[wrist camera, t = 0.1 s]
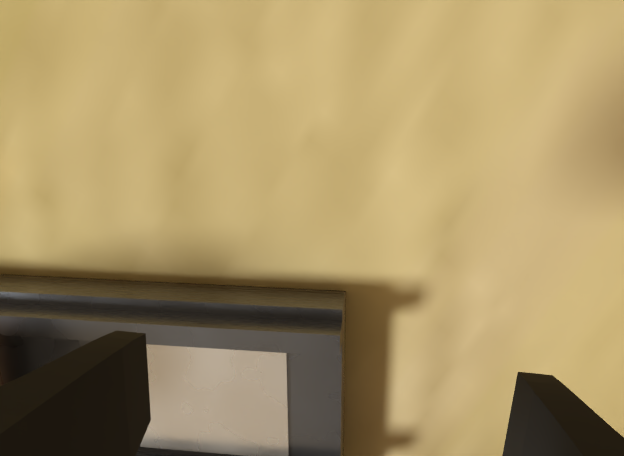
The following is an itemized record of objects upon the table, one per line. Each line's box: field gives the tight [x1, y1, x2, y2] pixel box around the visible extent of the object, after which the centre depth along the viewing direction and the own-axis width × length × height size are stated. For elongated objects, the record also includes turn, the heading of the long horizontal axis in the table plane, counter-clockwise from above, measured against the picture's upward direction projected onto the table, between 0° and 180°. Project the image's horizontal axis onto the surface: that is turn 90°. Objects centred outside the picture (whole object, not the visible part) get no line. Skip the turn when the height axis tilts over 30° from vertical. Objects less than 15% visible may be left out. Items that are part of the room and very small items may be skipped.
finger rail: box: [0, 275, 345, 456], centre depth 20 cm, size 8×20×8 cm, turn 91°
